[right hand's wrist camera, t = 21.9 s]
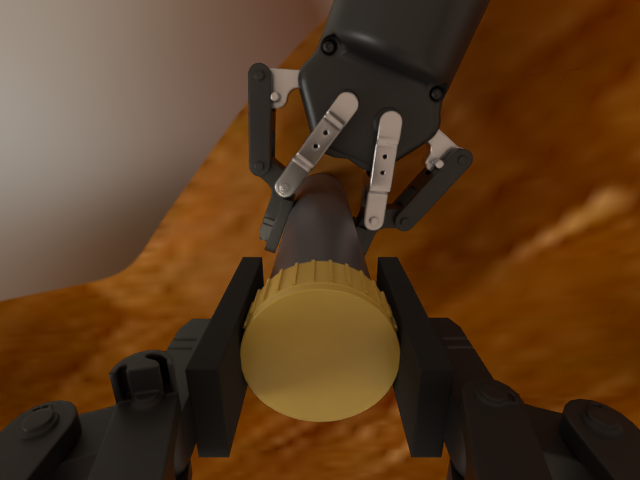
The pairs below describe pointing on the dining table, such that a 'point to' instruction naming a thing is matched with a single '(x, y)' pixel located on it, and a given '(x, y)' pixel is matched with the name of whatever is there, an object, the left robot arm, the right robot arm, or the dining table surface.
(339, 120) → the left robot arm
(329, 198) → the dark grey cylinder
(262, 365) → the lid
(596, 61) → the dining table surface
